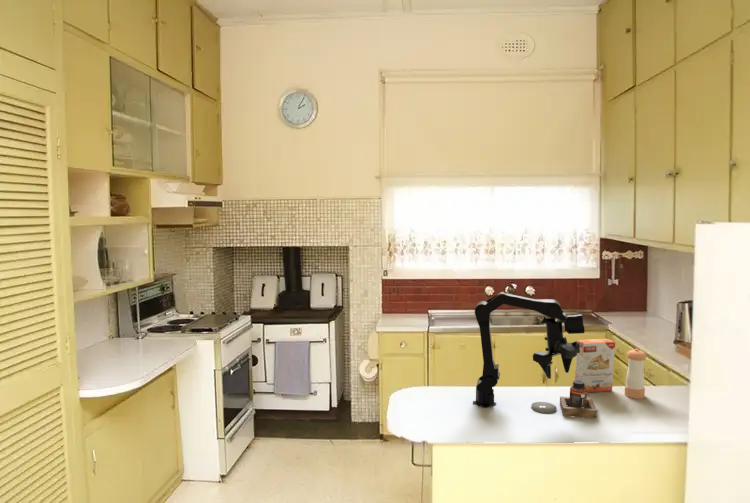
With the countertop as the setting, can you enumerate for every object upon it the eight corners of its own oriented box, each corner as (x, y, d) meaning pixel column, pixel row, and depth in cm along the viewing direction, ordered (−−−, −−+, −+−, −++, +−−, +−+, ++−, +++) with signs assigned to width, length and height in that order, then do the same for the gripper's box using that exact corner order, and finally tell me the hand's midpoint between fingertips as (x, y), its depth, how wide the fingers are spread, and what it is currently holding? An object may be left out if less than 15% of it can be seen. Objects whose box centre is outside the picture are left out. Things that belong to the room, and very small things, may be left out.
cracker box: (581, 393, 226) (583, 343, 224) (573, 388, 232) (575, 339, 230) (613, 391, 228) (615, 341, 226) (604, 386, 234) (607, 337, 232)
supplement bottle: (587, 415, 205) (588, 385, 204) (570, 413, 206) (571, 384, 205) (584, 408, 211) (585, 379, 210) (568, 407, 212) (569, 378, 211)
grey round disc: (526, 407, 212) (526, 405, 212) (541, 402, 218) (541, 400, 217) (546, 415, 205) (546, 413, 205) (561, 409, 210) (561, 407, 210)
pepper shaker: (642, 392, 227) (644, 346, 225) (646, 399, 220) (649, 351, 218) (622, 391, 229) (625, 345, 226) (626, 397, 222) (628, 350, 219)
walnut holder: (562, 415, 204) (563, 408, 204) (559, 403, 216) (559, 396, 215) (596, 418, 202) (597, 410, 202) (591, 406, 213) (591, 398, 213)
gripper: (553, 343, 195) (557, 387, 196) (590, 332, 204) (593, 374, 205) (530, 338, 204) (533, 379, 206) (566, 328, 213) (569, 367, 215)
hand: (558, 375), depth 208 cm, fingers open, 9 cm apart
